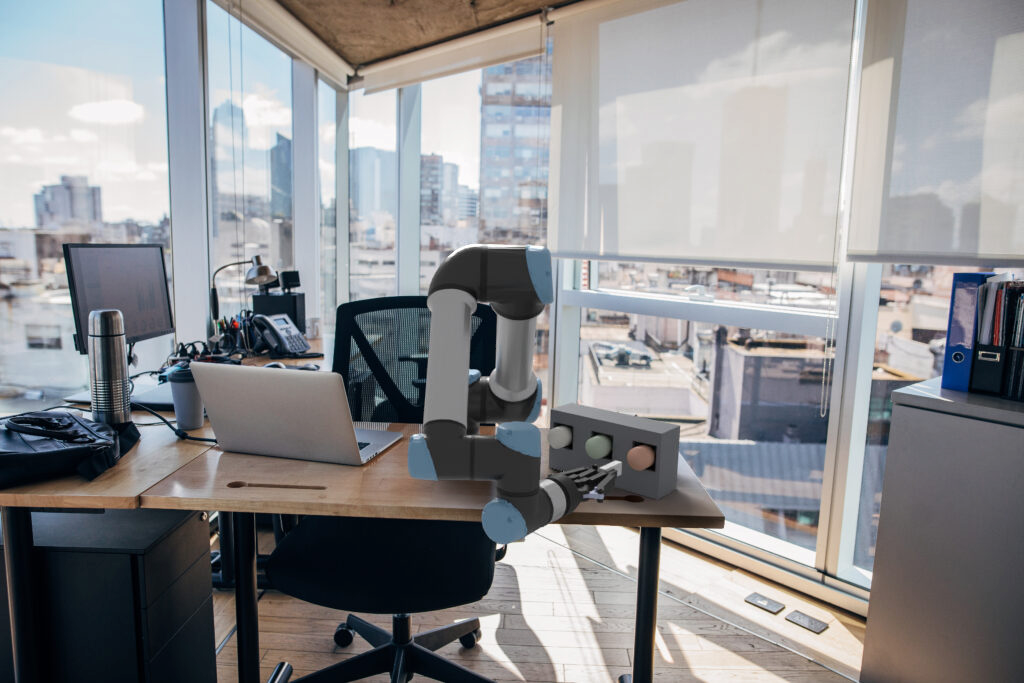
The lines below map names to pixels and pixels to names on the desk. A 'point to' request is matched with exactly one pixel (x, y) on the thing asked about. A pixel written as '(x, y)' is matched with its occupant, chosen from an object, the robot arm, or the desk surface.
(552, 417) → the grey button box
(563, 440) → the cream button
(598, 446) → the sage button
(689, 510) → the desk surface
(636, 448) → the terracotta button
